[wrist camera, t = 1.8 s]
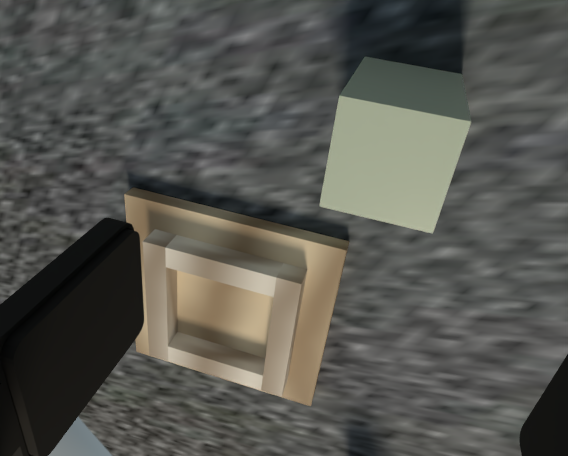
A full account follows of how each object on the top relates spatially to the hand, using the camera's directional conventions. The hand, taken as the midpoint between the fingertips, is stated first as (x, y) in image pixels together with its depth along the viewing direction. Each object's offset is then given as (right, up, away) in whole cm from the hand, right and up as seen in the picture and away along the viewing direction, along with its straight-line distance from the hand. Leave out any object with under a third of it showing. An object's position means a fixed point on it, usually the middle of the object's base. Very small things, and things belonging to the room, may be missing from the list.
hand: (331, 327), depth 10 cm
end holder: (-5, -3, +22) cm, 23 cm away
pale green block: (+5, +8, +13) cm, 16 cm away
